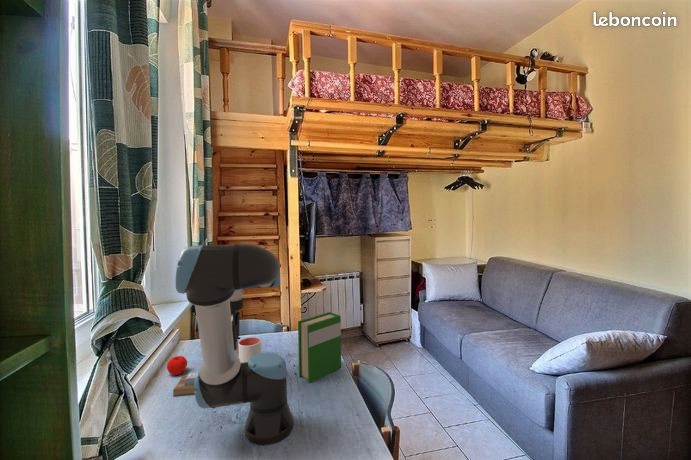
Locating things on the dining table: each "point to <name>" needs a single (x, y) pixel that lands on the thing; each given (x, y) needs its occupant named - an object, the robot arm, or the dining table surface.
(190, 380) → the key three dots
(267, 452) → the dining table surface
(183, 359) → the apple
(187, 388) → the key board
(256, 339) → the cup
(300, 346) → the hardback book
